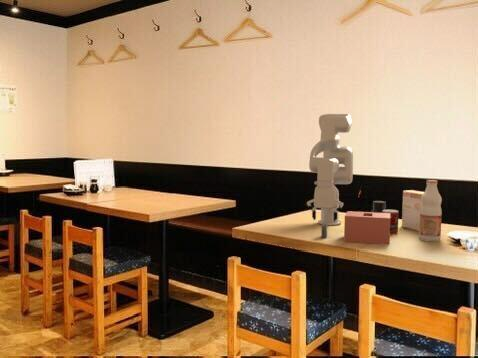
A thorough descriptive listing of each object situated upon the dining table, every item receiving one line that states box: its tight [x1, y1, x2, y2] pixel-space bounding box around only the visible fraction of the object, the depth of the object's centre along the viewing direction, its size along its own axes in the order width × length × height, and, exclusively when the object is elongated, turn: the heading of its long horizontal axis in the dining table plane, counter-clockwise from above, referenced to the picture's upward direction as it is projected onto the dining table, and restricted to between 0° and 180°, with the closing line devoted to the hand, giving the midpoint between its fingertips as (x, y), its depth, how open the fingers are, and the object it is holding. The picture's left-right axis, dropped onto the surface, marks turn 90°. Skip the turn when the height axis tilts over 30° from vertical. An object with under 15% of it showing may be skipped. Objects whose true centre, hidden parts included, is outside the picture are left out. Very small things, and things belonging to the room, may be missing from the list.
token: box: [321, 224, 329, 239], centre depth 233 cm, size 6×2×6 cm, turn 162°
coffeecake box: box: [401, 189, 425, 232], centre depth 253 cm, size 15×7×20 cm, turn 18°
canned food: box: [383, 209, 399, 235], centre depth 244 cm, size 8×8×11 cm
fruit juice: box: [418, 179, 443, 242], centre depth 227 cm, size 9×9×28 cm
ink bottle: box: [370, 200, 387, 213], centre depth 269 cm, size 10×9×12 cm
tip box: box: [343, 210, 391, 246], centre depth 226 cm, size 14×20×12 cm
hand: (324, 220), depth 231 cm, fingers open, 9 cm apart
